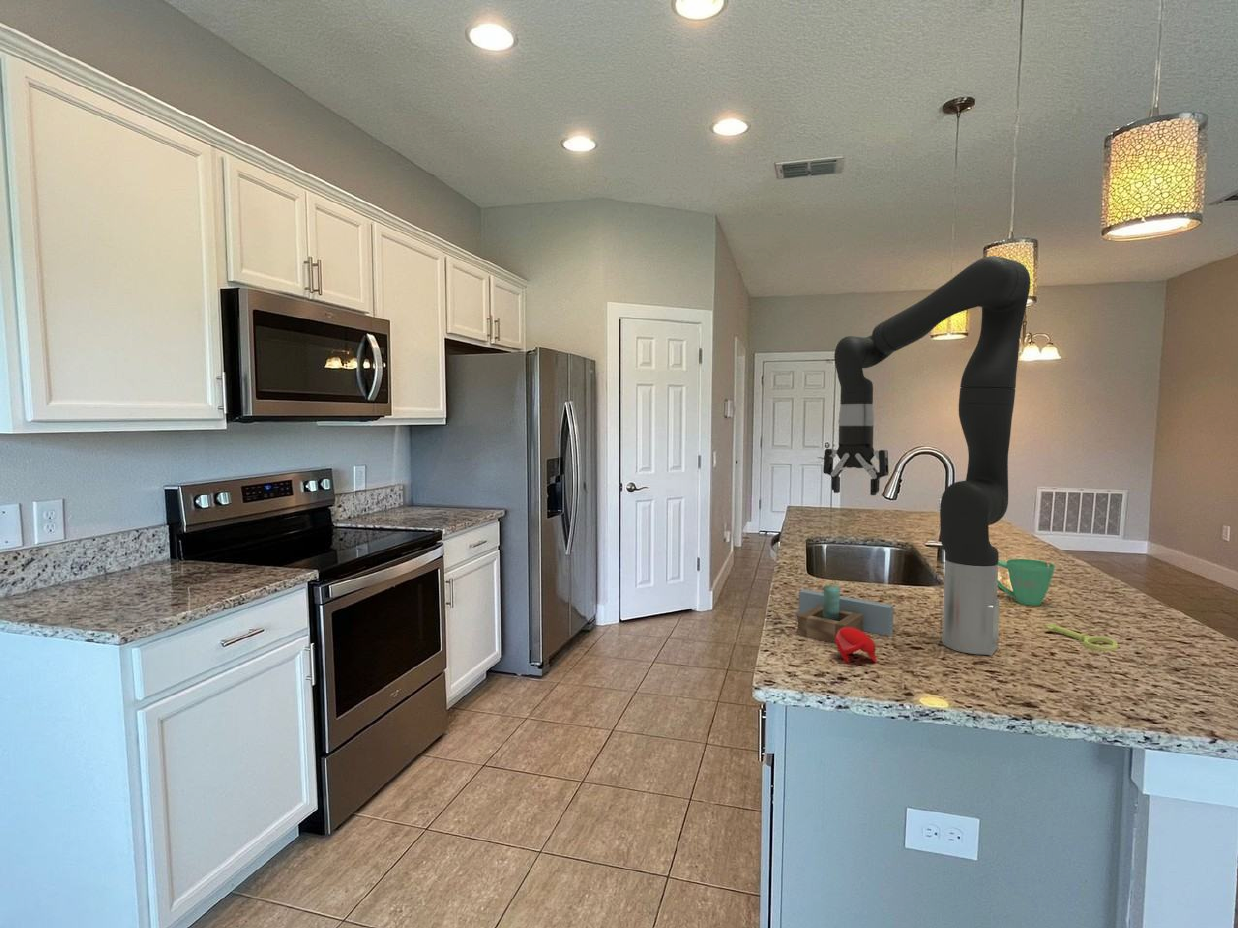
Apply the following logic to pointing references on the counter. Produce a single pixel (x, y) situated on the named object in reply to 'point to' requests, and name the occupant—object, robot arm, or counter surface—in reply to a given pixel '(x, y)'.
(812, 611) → the holed block
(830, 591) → the dowel
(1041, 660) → the counter surface
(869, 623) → the wall
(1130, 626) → the counter surface
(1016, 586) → the mug
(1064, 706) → the counter surface
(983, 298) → the robot arm
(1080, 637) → the key
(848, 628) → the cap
